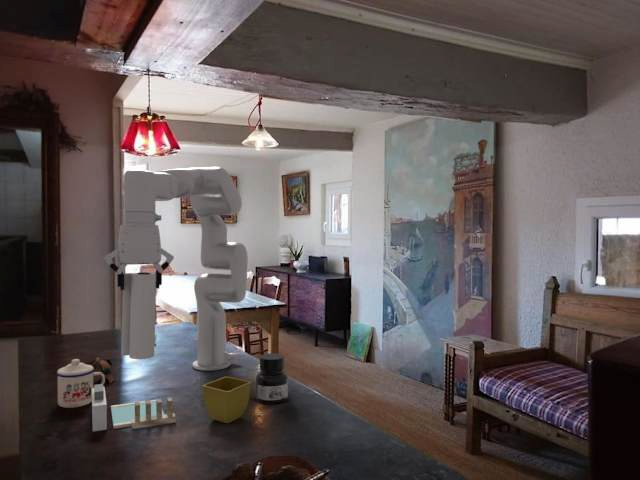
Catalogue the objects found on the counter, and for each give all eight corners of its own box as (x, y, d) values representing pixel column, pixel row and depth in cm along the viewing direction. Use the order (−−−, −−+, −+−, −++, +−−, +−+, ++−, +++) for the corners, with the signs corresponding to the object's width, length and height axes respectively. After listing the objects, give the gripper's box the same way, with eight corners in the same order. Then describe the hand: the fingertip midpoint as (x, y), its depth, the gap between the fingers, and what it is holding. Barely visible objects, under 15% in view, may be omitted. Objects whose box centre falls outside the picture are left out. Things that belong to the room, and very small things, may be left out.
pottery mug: (109, 388, 149) (93, 366, 147) (83, 400, 151) (67, 378, 149) (125, 366, 161) (111, 346, 159) (101, 378, 163) (87, 357, 161)
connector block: (104, 409, 131) (104, 379, 131) (106, 429, 118) (106, 395, 118) (92, 411, 130) (91, 380, 129) (92, 431, 117) (92, 397, 117)
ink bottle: (256, 406, 134) (256, 361, 134) (252, 395, 143) (252, 353, 142) (292, 403, 137) (292, 359, 136) (285, 392, 145) (285, 351, 145)
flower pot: (228, 428, 119) (228, 391, 119) (201, 421, 124) (201, 384, 124) (251, 417, 127) (252, 381, 126) (225, 410, 131) (226, 375, 131)
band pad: (158, 401, 137) (158, 399, 137) (166, 420, 124) (166, 417, 124) (110, 408, 132) (110, 405, 132) (113, 428, 119) (113, 425, 119)
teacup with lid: (60, 411, 129) (59, 366, 129) (54, 401, 137) (53, 358, 136) (109, 401, 137) (109, 359, 136) (100, 392, 144) (100, 352, 144)
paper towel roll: (159, 356, 128) (161, 273, 128) (139, 361, 123) (141, 274, 123) (140, 352, 132) (142, 271, 132) (120, 356, 127) (123, 272, 127)
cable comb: (174, 418, 125) (174, 397, 125) (175, 422, 123) (175, 400, 123) (131, 425, 121) (131, 402, 120) (132, 429, 118) (132, 406, 118)
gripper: (172, 220, 134) (172, 285, 134) (101, 219, 126) (101, 288, 127) (177, 219, 127) (177, 289, 127) (102, 218, 119) (103, 292, 120)
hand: (139, 288), depth 127 cm, fingers closed on paper towel roll, 7 cm apart
